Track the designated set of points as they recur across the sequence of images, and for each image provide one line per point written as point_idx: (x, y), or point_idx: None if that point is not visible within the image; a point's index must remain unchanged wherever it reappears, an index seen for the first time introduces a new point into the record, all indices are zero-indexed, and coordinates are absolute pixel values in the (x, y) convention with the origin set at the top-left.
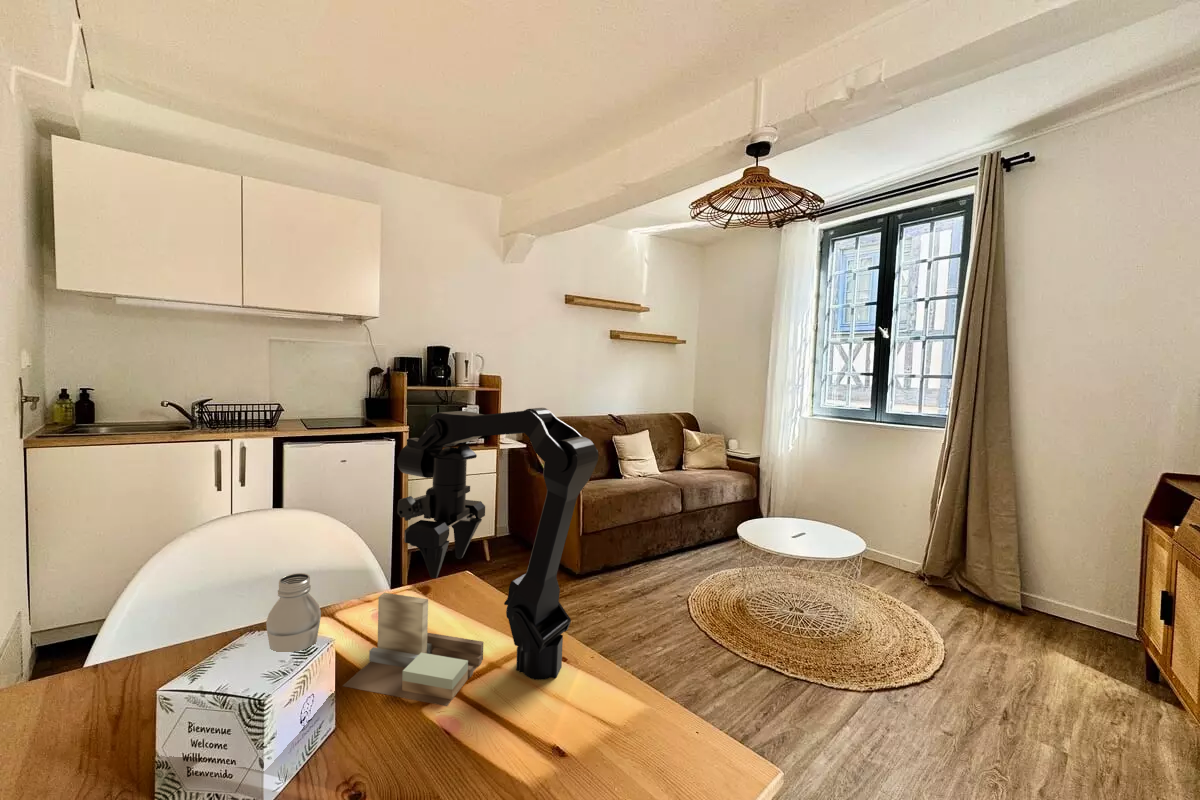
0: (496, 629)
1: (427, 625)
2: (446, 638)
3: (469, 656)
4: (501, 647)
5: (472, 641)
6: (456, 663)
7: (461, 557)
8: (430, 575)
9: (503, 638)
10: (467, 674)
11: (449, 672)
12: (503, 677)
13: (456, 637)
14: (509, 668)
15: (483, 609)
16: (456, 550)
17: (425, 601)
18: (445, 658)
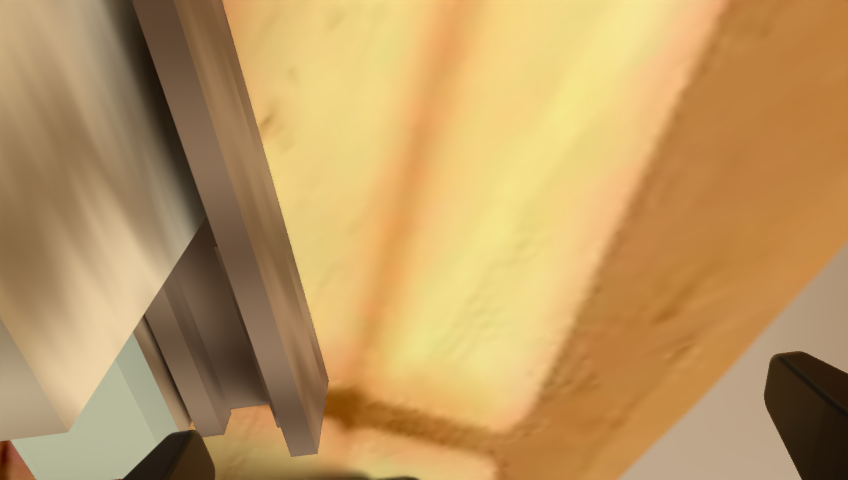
0: (587, 299)
1: (146, 306)
2: (250, 321)
3: (268, 395)
4: (463, 378)
5: (293, 422)
6: (127, 450)
7: (770, 415)
8: (159, 452)
9: (527, 355)
10: (186, 429)
11: (66, 460)
12: (303, 458)
13: (282, 354)
14: (356, 452)
15: (768, 147)
16: (832, 427)
17: (28, 436)
18: (122, 404)
